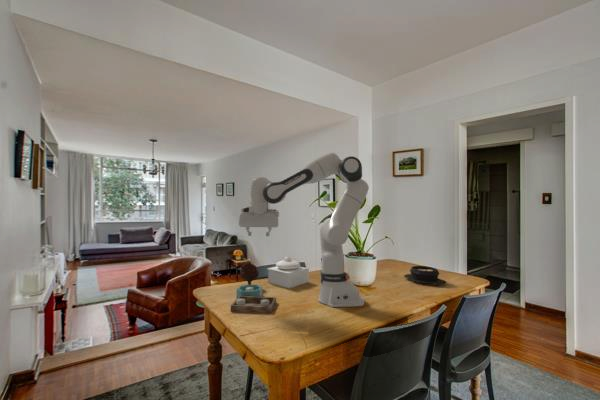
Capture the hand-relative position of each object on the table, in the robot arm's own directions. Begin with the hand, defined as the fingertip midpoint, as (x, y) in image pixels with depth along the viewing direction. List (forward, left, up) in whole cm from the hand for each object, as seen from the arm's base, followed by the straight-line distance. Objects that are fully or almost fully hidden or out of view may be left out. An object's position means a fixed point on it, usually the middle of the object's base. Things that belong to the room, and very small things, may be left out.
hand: (258, 235), depth 148 cm
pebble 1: (+3, +19, -31) cm, 36 cm away
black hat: (-96, -39, -31) cm, 108 cm away
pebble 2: (+4, +2, -30) cm, 31 cm away
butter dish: (-12, -27, -32) cm, 43 cm away
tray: (-2, +16, -31) cm, 35 cm away
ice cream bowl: (+8, -13, -31) cm, 35 cm away
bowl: (+4, +2, -31) cm, 31 cm away
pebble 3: (-8, +19, -31) cm, 37 cm away
